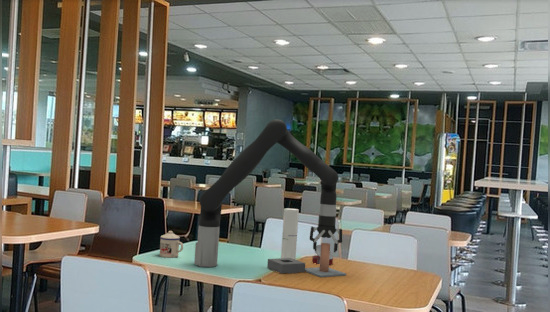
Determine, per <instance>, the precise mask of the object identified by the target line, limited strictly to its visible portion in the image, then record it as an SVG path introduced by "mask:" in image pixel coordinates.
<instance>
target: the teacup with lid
mask: <svg viewBox="0 0 550 312" xmlns="http://www.w3.org/2000/svg"><path fill="white" fill-rule="evenodd" d="M180 239H181V237H180V236H179V235H177V234H175V233H174V232H173V231H172V230H169V231H168V232H167V233H165V234H163V235H161V236H160V242H159V243H160V244H159V257H162V258H170V259H171V258H178V257H179V253H181V252H183V250H184V243H183V242H181V241H180ZM179 248H180V249H179Z"/></svg>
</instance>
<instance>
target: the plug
mask: <svg viewBox="0 0 550 312" xmlns="http://www.w3.org/2000/svg"><path fill="white" fill-rule="evenodd" d="M320 245H321V254H320V265H319V267H320V270H319V271H321V272H328V271H329V268H330V265H329V256H330V252H331V251H330V250H331V243H329V242H321V243H320Z"/></svg>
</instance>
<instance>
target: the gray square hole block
mask: <svg viewBox="0 0 550 312" xmlns="http://www.w3.org/2000/svg"><path fill="white" fill-rule="evenodd" d="M266 266H267V267H266V268H267V269H269V270H271V271H274V272H276V271H277V272H276V273H278V272H279V273H278V274H281V273H282V274H281V275H284V274H283V273H288V274H299V273H298V272H302V273H305V268H306V263H305V262H303V261H300V260H298V259H296V260H295V259H292V258H281V257H280V258H278V257H277V258H268V259H267V265H266Z"/></svg>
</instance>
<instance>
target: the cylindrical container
mask: <svg viewBox="0 0 550 312" xmlns="http://www.w3.org/2000/svg"><path fill="white" fill-rule="evenodd" d="M299 211H300V209H298V208H289V207H287V208H283V219H282V220H283V222H282V233H281V234H282V235H281V237H282V238H281V249H280V250H281V251H280V252H281V253H280V258H292V259H295V260H297V259H296V257H297V245H298V244H297V242H298V229H299V214H300V213H299Z"/></svg>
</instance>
